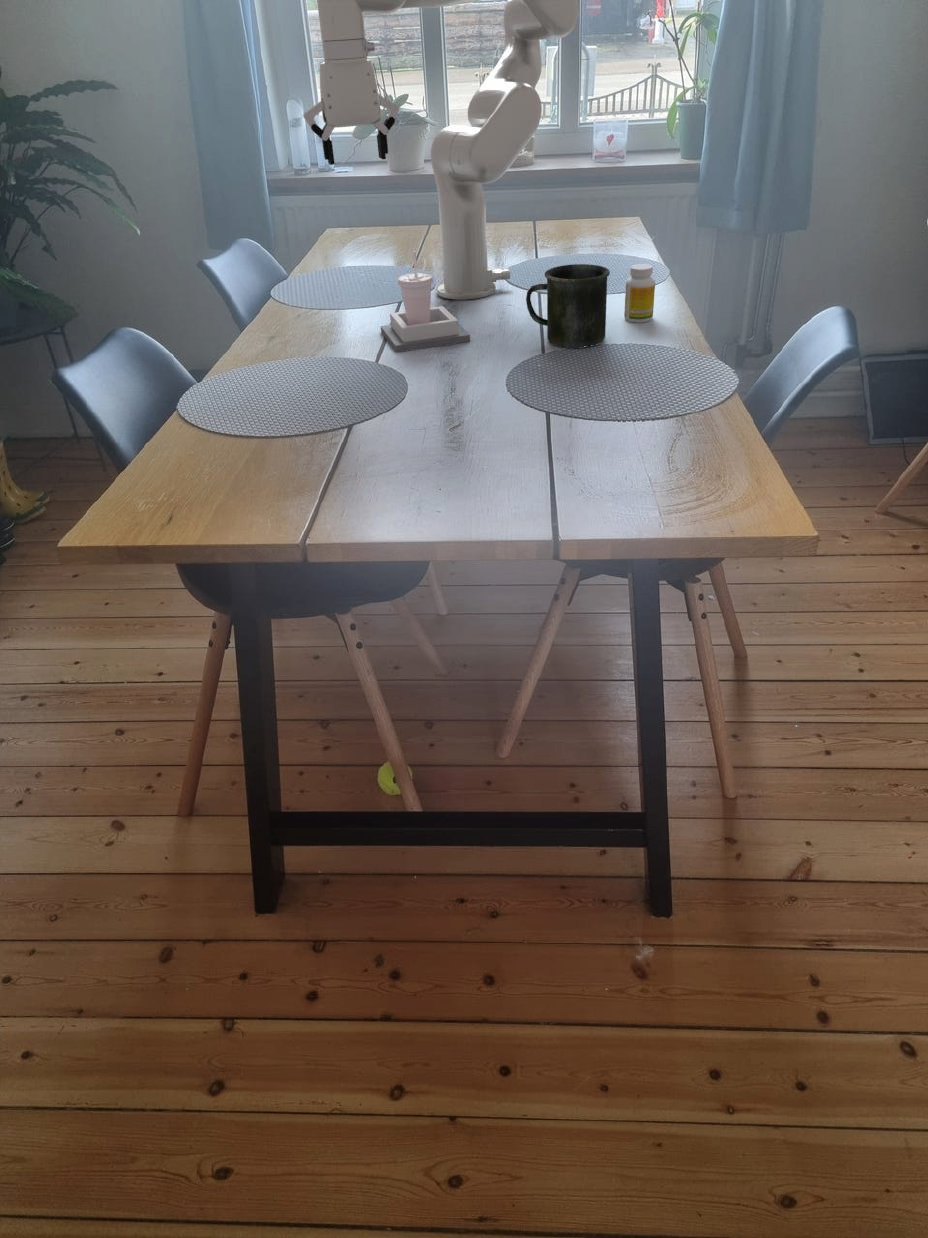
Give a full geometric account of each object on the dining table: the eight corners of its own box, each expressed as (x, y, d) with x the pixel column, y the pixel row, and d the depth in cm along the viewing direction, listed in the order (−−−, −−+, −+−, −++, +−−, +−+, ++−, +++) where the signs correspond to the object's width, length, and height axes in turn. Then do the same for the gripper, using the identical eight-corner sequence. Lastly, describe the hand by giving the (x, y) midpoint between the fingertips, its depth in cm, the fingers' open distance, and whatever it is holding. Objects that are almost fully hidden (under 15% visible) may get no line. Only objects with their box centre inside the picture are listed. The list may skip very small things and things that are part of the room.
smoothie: (441, 326, 171) (436, 248, 163) (428, 336, 166) (422, 256, 158) (410, 324, 173) (403, 247, 165) (397, 335, 168) (389, 255, 160)
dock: (451, 322, 176) (449, 302, 174) (470, 341, 166) (469, 320, 164) (381, 332, 174) (379, 312, 172) (396, 352, 163) (394, 331, 161)
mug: (606, 350, 158) (609, 279, 151) (523, 350, 160) (522, 280, 153) (608, 331, 167) (610, 263, 160) (529, 331, 169) (528, 264, 162)
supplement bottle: (618, 318, 173) (620, 265, 167) (641, 313, 175) (644, 261, 169) (635, 324, 169) (638, 271, 163) (658, 319, 171) (662, 266, 165)
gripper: (388, 47, 162) (397, 154, 172) (292, 55, 159) (307, 163, 168) (398, 48, 156) (407, 158, 166) (298, 56, 153) (313, 168, 162)
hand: (357, 160), depth 167 cm, fingers open, 9 cm apart
